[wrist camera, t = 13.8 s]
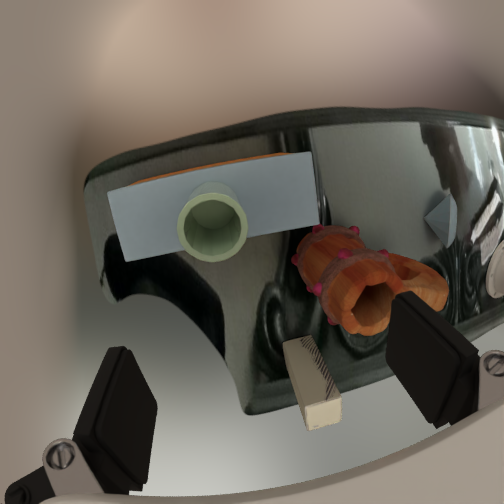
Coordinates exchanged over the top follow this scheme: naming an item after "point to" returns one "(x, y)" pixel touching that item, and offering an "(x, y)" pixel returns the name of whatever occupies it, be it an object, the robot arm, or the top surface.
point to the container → (230, 173)
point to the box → (312, 383)
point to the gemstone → (444, 220)
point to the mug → (361, 278)
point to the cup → (212, 223)
